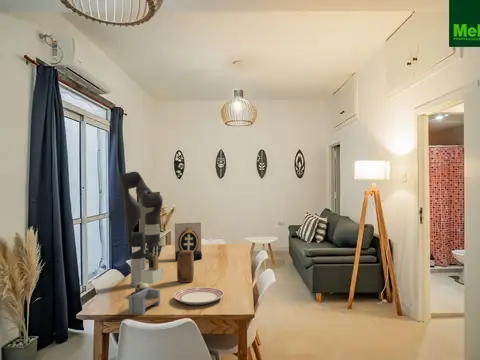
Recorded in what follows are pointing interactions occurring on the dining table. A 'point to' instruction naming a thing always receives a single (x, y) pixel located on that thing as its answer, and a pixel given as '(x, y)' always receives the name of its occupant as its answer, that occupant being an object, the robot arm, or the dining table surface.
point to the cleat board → (143, 300)
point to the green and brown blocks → (152, 273)
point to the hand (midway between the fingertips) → (152, 266)
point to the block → (185, 266)
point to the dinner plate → (198, 295)
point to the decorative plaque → (188, 239)
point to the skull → (140, 287)
